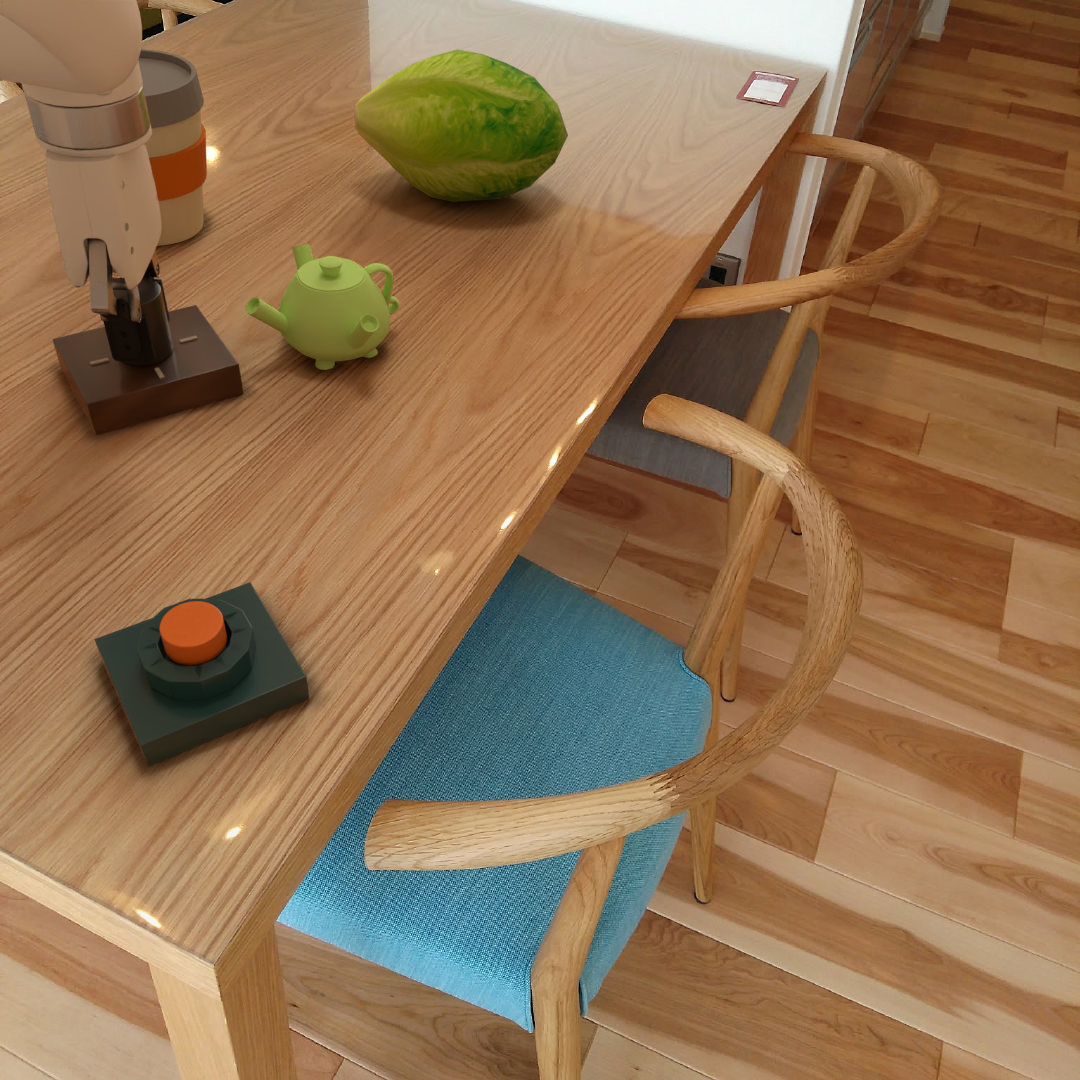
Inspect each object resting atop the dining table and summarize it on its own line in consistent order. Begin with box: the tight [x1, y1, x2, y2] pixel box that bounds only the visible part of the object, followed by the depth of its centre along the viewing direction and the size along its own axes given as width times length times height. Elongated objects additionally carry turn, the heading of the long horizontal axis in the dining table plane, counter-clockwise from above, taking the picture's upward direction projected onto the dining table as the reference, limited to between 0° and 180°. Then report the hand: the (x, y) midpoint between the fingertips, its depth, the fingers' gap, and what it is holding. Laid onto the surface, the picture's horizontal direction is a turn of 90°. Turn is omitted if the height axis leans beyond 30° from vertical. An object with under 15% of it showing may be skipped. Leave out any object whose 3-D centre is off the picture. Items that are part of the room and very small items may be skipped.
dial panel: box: [52, 304, 244, 435], centre depth 84 cm, size 12×10×3 cm
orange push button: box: [160, 601, 227, 665], centre depth 60 cm, size 4×4×2 cm
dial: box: [113, 277, 173, 366], centre depth 81 cm, size 4×4×6 cm
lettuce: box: [353, 49, 569, 203], centre depth 109 cm, size 15×23×16 cm
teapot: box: [245, 243, 400, 371], centre depth 88 cm, size 11×11×8 cm
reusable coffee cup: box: [138, 48, 208, 247], centre depth 99 cm, size 13×13×15 cm
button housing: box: [94, 581, 310, 768], centre depth 62 cm, size 10×9×4 cm
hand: (142, 339), depth 82 cm, fingers closed on dial, 4 cm apart
